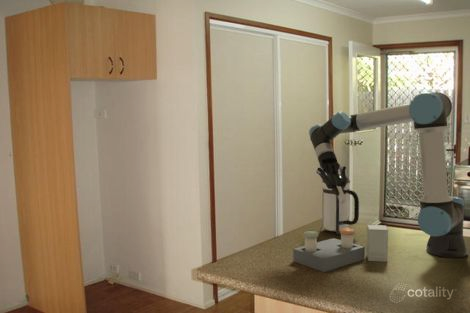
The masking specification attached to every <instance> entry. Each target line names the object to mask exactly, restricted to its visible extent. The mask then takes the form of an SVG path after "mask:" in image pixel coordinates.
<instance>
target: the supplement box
mask: <svg viewBox="0 0 470 313" xmlns="http://www.w3.org/2000/svg"><path fill="white" fill-rule="evenodd" d="M366 226H367V228H366V229H367V230H366V231H367V232H366V257H367V261H369V262H370V261H371V262H386V263H387V262H388V258H389V257H388V249H389V247H388V246H389V245H388V244H389V243H388V242H389V229H388V227H387V225H382V224H379V225H378V224H367V225H366Z"/></svg>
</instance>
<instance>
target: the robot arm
mask: <svg viewBox="0 0 470 313" xmlns="http://www.w3.org/2000/svg"><path fill="white" fill-rule="evenodd" d="M452 110H453V103H452V101H451V99H450V98H449V96H448V95H447V94H445V93H443V92H436V91H435V92H434V91H424V92H420V93H419V94H417V95H415V96H414V97H413V98H412V100H410V103H406V104H405V103H404V104H400V105H396V106H391V107H385V108H380V109H376V110H371V111H365V112H362V113H361V112H360V113H355V114H351V115H348V114H347V113H345V112H344V111H343V110H342V111H338V112H336V113H334V115H332V116H331V117H330V118H329V119H328V120H327V121H326V122H325V123H324V124H316V125H314V126H311V127H310V128H309V131H308V134H309V139H310V141H311V144H312V146H313V150H314V152H315V156H316V158H317V161H318V163H319V166H320V167H318V168H317V169H316V174H318V176H320V178H321V181H322V180H323V181H324V183H325V184H326V186H327V187H328V189H332V191H334V193H335V195H336V196H338V199H339V201H340V204H342V203H344V202H345V200H346V198H345V196H344V194H345V191H344V188H345V186H346V184H347V183H346V176H347V175H346V170H347V167H346V166H342V165H340V163H339V162H338V159H337V156H336V154H335V151H334V148H333V145H332V143H331V141H333V140H334V139H335V138H336V137H337V136H339V135H341V134H346V133H347V134H348V133H355V132H360V131H365V130H371V129H376V128H377V129H378V128H382V127H389V126H394V125H399V124H405V123H410V122H411V123H412V122H413V129H414V131H416V132H417V133H418V139H419V151H420V163H421V166H420V167H421V177H422V189H423V196H422V197H421V198H420V199H419V205H420V206H419V207H420V208H419V209H420V211H419V212H418V214H417V225H418V226H419V228H420V230H421V231H422V232H424V234H426V235H428V236H429V238H428V240H427V243H426V252H427V253H428V254H431V255H434V256H437V257H441V258H442V257H443V258H450V259H452V258H456V259H457V258H464V257H466V256H467V255H468V247H467V244H466V241H465V237H464V218H465V217H464V215H465V213H464V212H465V200H464V199H463V198H462V197H459V196H452V195H451V196H450V194H449V190H448V189H449V188H448V178H447V176H448V175H447V165H446V164H447V162H446V150H445V137H444V136H445V135H444V131H445V130H446V128H448V117H449V116H450V115H451V113H452ZM338 171H339V172H338ZM339 173H340V174H341V179H340V176H339ZM334 178H335V179H334ZM337 186H338V187H337Z"/></svg>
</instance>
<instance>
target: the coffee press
mask: <svg viewBox="0 0 470 313" xmlns="http://www.w3.org/2000/svg"><path fill="white" fill-rule="evenodd" d="M339 173H340V170H338V174H339ZM339 176H340V179H341V173H340V174H339ZM334 179H335V178H334ZM321 182H322V185H323V186H322V225H321V227H320V228H319V230H320V232H321V233H323V232H324V231H330V232H335V236H340V229H342V228H350V229H352V228H351V227H350V226H352V225H356V224H357V223H358V221H359V216H360V215H359V214H360V212H359V211H360V210H359V209H360V203H359V202H360V201H359V200H360V199H359V197H358V195H357V192H356V191H354V190H352V189H350V183H351V180H350V179H349V177H348V176H347V175H346V183H347V184H346V186H345V188H344V191H345V194H344V196H345V198H346V200H345V202H344V203H342V204H340V201H339V199H338V196H336V195H335V193H334V191H332V189H328V187H327V186H326V184H325V183H324V181H323V180H322V179H321ZM337 187H338V186H337ZM350 196H352V197H353V200H354V201H353V202H354V203H353V204H354V209H353V210H354V212H353V213H354V214H353V215H354V216H353V219H352V220H350Z"/></svg>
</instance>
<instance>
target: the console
mask: <svg viewBox="0 0 470 313" xmlns="http://www.w3.org/2000/svg"><path fill="white" fill-rule="evenodd" d="M365 250H366V248H365V246H363V245H359V244H356V243H353V248H351V249H345V248H342V247H341V239H337V238H334V237H333V238H329V239H325V240H321V241H317V251H316V252H312V253H310V252H307V251H305V245H301V246H299V247H296V248H293V251H292V252H293V253H292V254H293V256H292V258H293V260H292V261H293V262H294V263H297V264H300V265H304V266H306V267H308V268H311V269H314V270H316V271H320V272H322V273H326V272H328V271H329V272H330V271H332V270H336V269H338V268H341V267H344V266H347V265H351V264H354V263H357V262H361V261H363V260H365V252H366V251H365Z"/></svg>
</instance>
